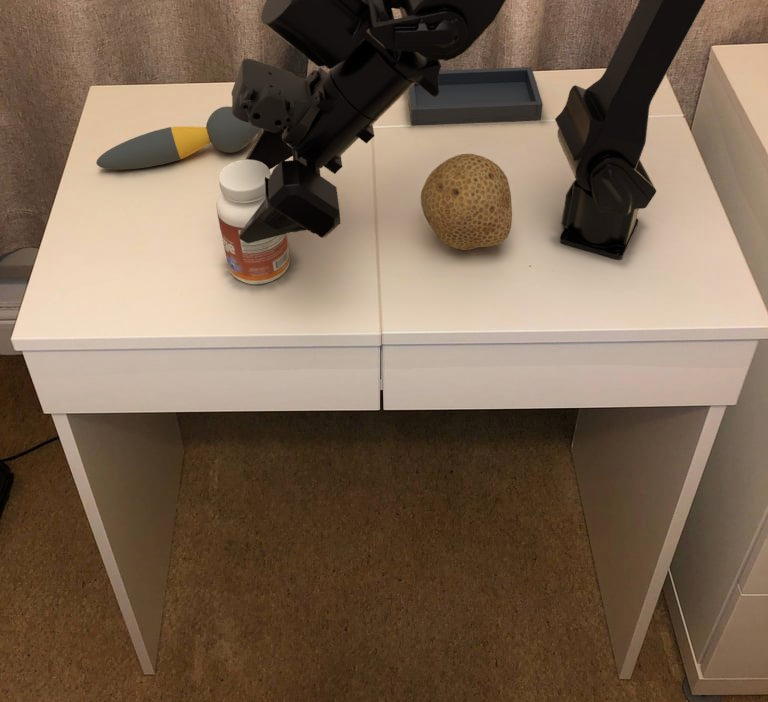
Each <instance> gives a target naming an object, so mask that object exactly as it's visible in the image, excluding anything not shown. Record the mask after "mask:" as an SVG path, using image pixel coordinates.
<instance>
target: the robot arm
mask: <svg viewBox="0 0 768 702" xmlns="http://www.w3.org/2000/svg"><path fill="white" fill-rule="evenodd" d="M506 1H507V0H265V2H264V5H263V8H262V11H261V16H260V21H261V23H262V24H263V25H264V26H265V27H267V28H268V29H270V30H271V31H272V32H274V33H275V34H276V35H277V36H279V37H280V38H281V39H282V40H284V41H285V42H286V43H287V44H288V45H290V46H291V47H293V48H294V49H295V50H296V51H298V52H299V53H300V54H301V55H303V56H304V57H305V58H306V59H308V60H309V61H310V62H311V63H313V64H314V65H315V66H317V67H319V68H318V70H317V69H313V70H312V71H311V72H310V73H309V74H307V76H306V77H305V78H302V77H300V76H297V75H296V74H294V73H293V72H292V71H290V70H285V69H282V68H280V67H276V66H273V65H270V64H267V63H264V62H262V61H259V60H255V59H251V58H245V59H243V60H242V61H241V64H240V67H239V70H238V73H237V76H236V78H235V81H234V84H233V87H232V90H231V97H232V98H231V104H232V105H231V107H232V114H233V115H234V116H235V117H236V118H237V119H239V120H241V121H244V122H247V123H248V122H250V124H251V125H252V126H254V127H257V128H260V131H259V133H258V134H257V135H256V136H255V138H254V141H253V143H252V145H251V147H250V149H249V151H248V153H247V155H246V157H245V159H244V160H256V161H259V162H262V163H264V164H265V165H266V166H267V167H268V168H269V170H270V171H271V169H273V170H272V171H271V173H270V174H271V176H270V178H269V179H268V178H266V177H265V198H266V199H265V200H264V201H263V203H262V204H261V205H260V207H259V208H258V209H257V211H256V212H255V213H254V215H253V216H252V217H251V218H250V220H249V221H248V222H247V224H246V225H245V227H244V228H243V230H242V231H241V233H240V234H239V239H241V240H242V241H244V242H246V243H252V242H256V241H260V240H264V239H267V238H271V237H275V236H279V235H283V234H287V235H288V234H292V233H299V232H304V231H308V232H310V233H311V234H313V235H317V236H318V237H320V238H321V239H322V238H327V236H329V235H330V234H331V233H332V232H333V231H334V230H335V229H336V228H338V227H339V226H340V225H341V224H342V223H341V210H340V204H339V203H340V202H339V196H338V195H339V194H338V189H337V188H338V187H337V186H336V185H335V184H332V182H330V181H328V180H327V179H326V178H324V177H323V176H321V169H323V168H324V169H326V170H328V171H330V172H331V173H332V174H334V175H336V174H337V173H338V172H339V171H340V170H341V169H342V168H343V161H342V155H343V154H344V153H345V152H346V151H347V150H348V149H349V148H351V146H353V144H354V143H356V141H358V140H359V139H360V141H362V142H364V143H365V144H366V145H367V144H368V143H369V142H370V141H371V140H372V139H373V138H374V137H375V132H374V127H373V125H374V124H375V123H376V122H377V121H379V119H380V118H381V117H382V116H383V115H384V114H385V113H386V112H387V111H388V110H389V109H390V108H391V107H392V106H393V105H394V104H396V103H397V102H398V101H399V99H401V98H402V96H404V95H405V94H406V93H407V90H408V89H410V88H411V87H412V86H413V85H414V84H415V83H417V84H418V85H419V86H420V87H422V88H423V89H424V90H425V91H426V92H428V93H429V94H430V95H431V96H433V97H436V96H438V94H439V80H438V78H439V71H441V69H442V63H441V61H445V62H450V61H452V60H456V59H457V58H458V57H460V56H462V55H464V54H465V53H466V52H468V50H470V49H471V48H472V46H473V45H475V43H476V42H477V41H478V40H479V39H480V37H481V36H483V34H484V33H486V31H487V30H488V29H489V28H490V27H491V25H492V24H493V23H494V22H495V20H496V19H497V17H498V16H499V14H500V12H501V10H502V8H503V6H504V5H505V3H506ZM706 1H707V0H638V3H637V5H636V7H635V9H634V11H633V13H632V15H631V17H630V20H629V21H628V23H627V26H626V28H625V30H624V31H623V33H622V36H621V38H620V40H619V43H618V44H617V46H616V49H615V50H614V53H613V55H612V56H611V58H610V60H609V62H608V65H607V67H606V68H605V71H604V73H603V74H602V75H601V77H600V78H599V79H597V80H596V81H595V82H594V83H592V84H591V85H590V86H588V87H587V88H583V87H581V86H578V85H576V84H575V85H573V86H572V87H571V88H570V90H569V92H568V96H567V100H566V103H565V105H564V107H563V108H562V111H561V112H560V113H559V114H558V115H557V116H556V117H555V119H554V121H555V124H556V125H557V127H558V129H557V139H558V142H559V144H560V147H561V150H562V152H563V154H564V156H565V158H566V161H567V163H568V165H569V167H570V169H571V172H572V174H573V176H574V178H575V180H573V181H572V183H571V185H570V187H569V188H568V190H567V192H566V194H565V200H564V205H563V210H562V215H561V216H562V217H561V223H560V224H561V226H562V227H564V229H563V230H562V232H561V234H560V237H559V242H560V243H562V244H564V245H568V246H571V247H575V248H578V249H580V250H581V249H582V250H585V251H589V252H593V253H595V254H599V255H602V256H606V257H609V258H613V259H617V260H620V259H622V258H624V255H625V253H626V251H627V249H628V246H629V245H630V243H631V241H632V238H633V236H634V233H635V231H636V229H637V228H638V224H639V219H638V218H637V217H638V213H639V210H641V209H646V208H647V207H648V206H649V204H650V203H651V201H652V200H653V198H654V197H655V195H656V194H657V189H656V187H655V185H654V184H653V182H652V179H651V178H650V176H649V175H648V172H647V170H646V168H645V167H644V165H643V163H642V161H641V156H642V154H643V152H644V148H645V146H646V144H647V143H646V142H647V136H648V135H647V134H648V125H649V115H650V106H651V103H652V101H653V99H654V97H655V95H656V93H657V92H658V90H659V88H660V86H661V84H662V83H663V81H664V79H665V77H666V75H667V73H668V71H669V70H670V67H671V65H672V64H673V62H674V60H675V58H676V57H677V54H678V52H679V51H680V49H681V47H682V45H683V43H684V42H685V40H686V38H687V36H688V34H689V32H690V30H691V29H692V27H693V25H694V23H695V21H696V20H697V18H698V15H699V14H700V12H701V10H702V9H703V6H704V5H705V3H706ZM393 9H395V10H399V11H400V15H401V17H398V18H395V16H394V12H393ZM322 67H326V68H327V69H328V70H329V71H326V70H324V69H323V68H322ZM290 158H292V160H291V159H290Z"/></svg>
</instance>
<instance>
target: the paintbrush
mask: <svg viewBox="0 0 768 702" xmlns="http://www.w3.org/2000/svg"><path fill="white" fill-rule="evenodd" d="M259 131H260V128H257V127H254V126H252V125H251V124H250V122H248V123H247V122H244V121H241V120H239V119H237V118H236V117H235V116H234V115H233V114H232V106H222V107H219V108H217V109H216V110H214V111H213V112H212V113H211V114H210V116H209V117H208V119H207V122H206V125H205V126H169V127H164V128H159V129H157V130H152V131H150V132H147V133H144V134H140V135H137V136H135V137H132V138H130V139H128V140H125V141H124V142H121V143H119V144H117V145H115V146H113V147H111V148H110V149H108V150H105V152H103V153H102V154H100V156H98V158H97V159H96V163H95V164H96V165H97V166H98V167H99V168H102V169H108V170H135V169H136V170H137V169H142V168H143V169H145V168H150V167H156V166H161V165H165V164H169V163H173V162H176V161H177V162H178V161H180V160H182V159H185V158H187V157H189V156H190V155H193V154H194V153H196V152H198V151H200V150H201V149H202V148H204V147H206V146H208V145H209V144H211V145H212V146H213V148H215V149H217V150H219V151H221V152H224V153H229V154H230V153H238V152H240V151H242V150H243V149H244V148H246V146H247V145H249V144H250V143H251V141H253V140H254V139H255V138H256V137H257V135H258V133H259Z"/></svg>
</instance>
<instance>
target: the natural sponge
mask: <svg viewBox="0 0 768 702" xmlns="http://www.w3.org/2000/svg"><path fill="white" fill-rule="evenodd" d="M510 187H511V186H510V183H509V180H508V177H507V175H506V174H505V171H504V170H502V168H501V167H500V166H499V165H498V164H497V163H496V162H494V161H492V160H491V159H489V158H487V157H484V156H481V155H478V154H476V153H461V154H457V155H455V156H452V157H450V158H448V159H446V160H444V161H443V162H442V163H440V164H438V166H436V167H435V168H434V169H433V170H432V171H431V172H430V173H429V175H428V176H427V178H426V180H425V182H424V184H423V186H422V189H421V192H420V205H421V208H422V212H423V216H424V217H425V219H426V221H427V223H428V224H429V226H430V228H431V229H432V230H433V233H435V235H436V236H437V238H439V239H440V240H441V242H443V243H445V244H446V245H447V246H449V247H451V248H453V249H456V250H460V251H467V250H473V249H477V248H483V247H484V248H485V247H494V246H497V245H500V244H501V243H504V241H506V240H507V238H508V237H509V235H510V233H511V229H512V223H513V208H512V207H513V206H512V193H511V188H510Z"/></svg>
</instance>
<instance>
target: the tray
mask: <svg viewBox="0 0 768 702" xmlns="http://www.w3.org/2000/svg"><path fill="white" fill-rule="evenodd" d="M438 80H439V94H438V96H436V97H433V96H431V95H430V94H429V93H428V92H426V91H425V90H424V89H423V88H422V87H420V86H419V85H418V84H417V83H415V84H414V85H413V86H412V87H411V88H410V89H408V90H407V91H406V93H407V99H408V101H407V102H408V110H409V119H410V126H431V125H432V126H433V125H456V124H457V125H458V124H480V123H484V124H485V123H507V122H508V123H509V122H530V121H541V120H542V113H543V105H544V104H543V101H542V97H541V94H540V91H539V88H538V83H537V81H536V77H535V74H534V70H533V67H532V66H529V67H528V66H524V67H523V66H522V67H521V66H520V67H498V68H497V67H495V68H470V69H469V68H468V69H446V70H445V69H444V70H440V71H439V78H438Z"/></svg>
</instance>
